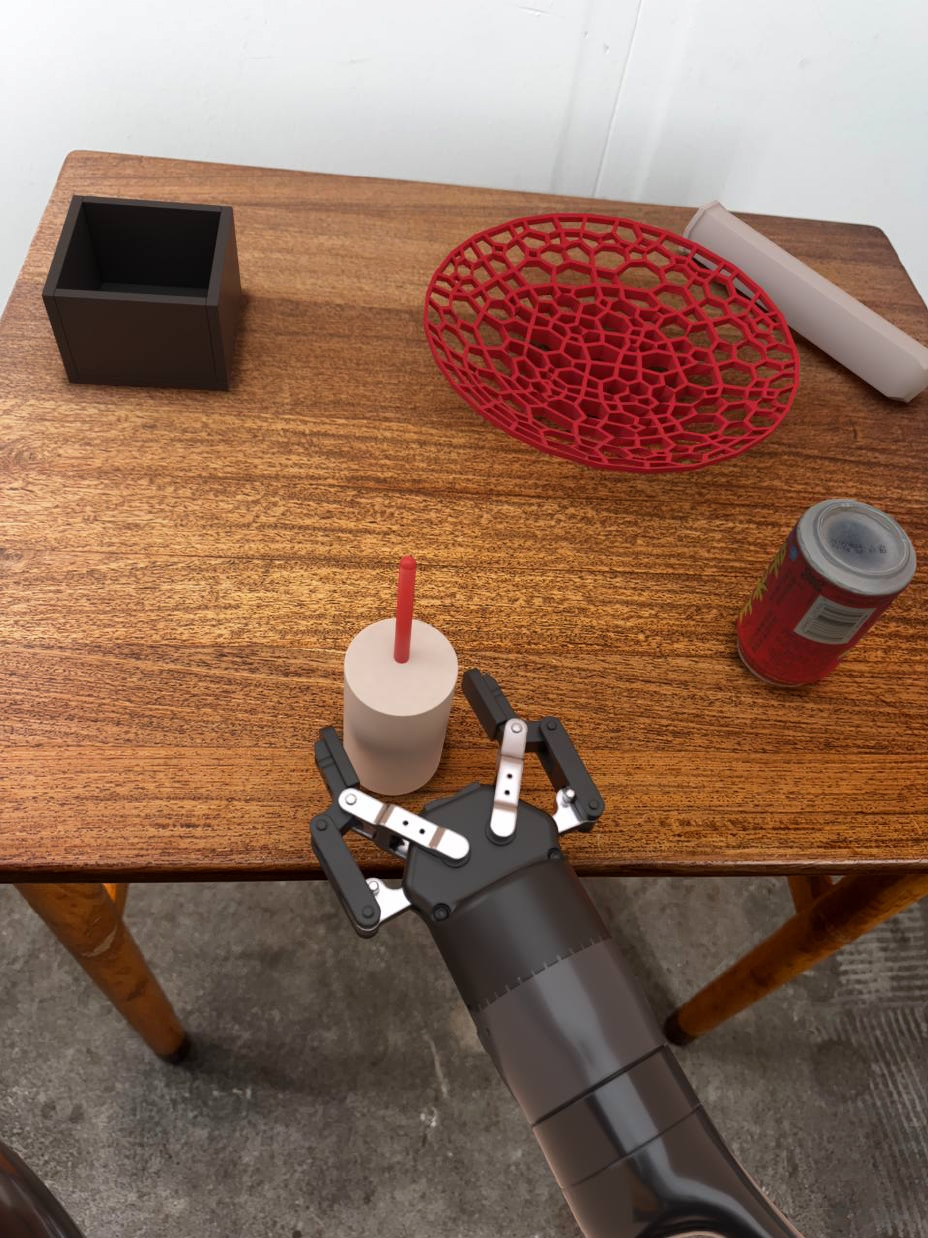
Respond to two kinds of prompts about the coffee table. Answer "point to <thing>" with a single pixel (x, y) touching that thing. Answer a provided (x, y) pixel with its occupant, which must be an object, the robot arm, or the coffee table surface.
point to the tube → (814, 305)
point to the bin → (145, 293)
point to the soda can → (823, 591)
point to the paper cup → (398, 696)
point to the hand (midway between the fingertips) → (398, 703)
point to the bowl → (608, 349)
